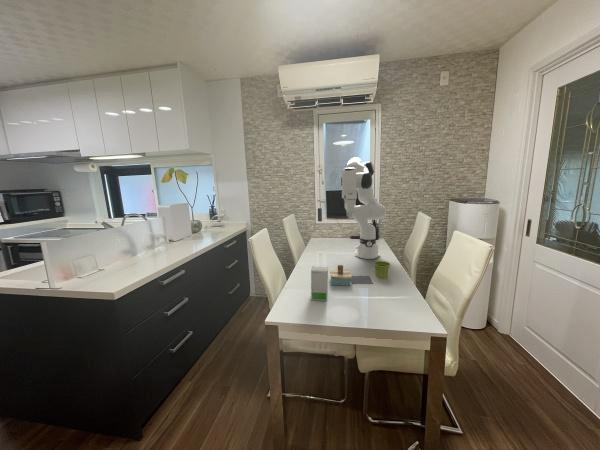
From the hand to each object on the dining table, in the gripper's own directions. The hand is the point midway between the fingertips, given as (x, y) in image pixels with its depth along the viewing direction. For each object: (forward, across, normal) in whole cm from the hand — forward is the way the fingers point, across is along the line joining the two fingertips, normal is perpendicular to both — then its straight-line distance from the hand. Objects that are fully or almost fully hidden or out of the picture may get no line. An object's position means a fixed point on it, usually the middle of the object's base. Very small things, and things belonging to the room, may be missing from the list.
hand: (349, 217), depth 153 cm
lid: (+30, +17, -7) cm, 35 cm away
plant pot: (+35, +9, +18) cm, 40 cm away
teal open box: (+35, +17, -7) cm, 39 cm away
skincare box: (+35, +35, -19) cm, 53 cm away
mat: (+35, +14, +5) cm, 38 cm away
